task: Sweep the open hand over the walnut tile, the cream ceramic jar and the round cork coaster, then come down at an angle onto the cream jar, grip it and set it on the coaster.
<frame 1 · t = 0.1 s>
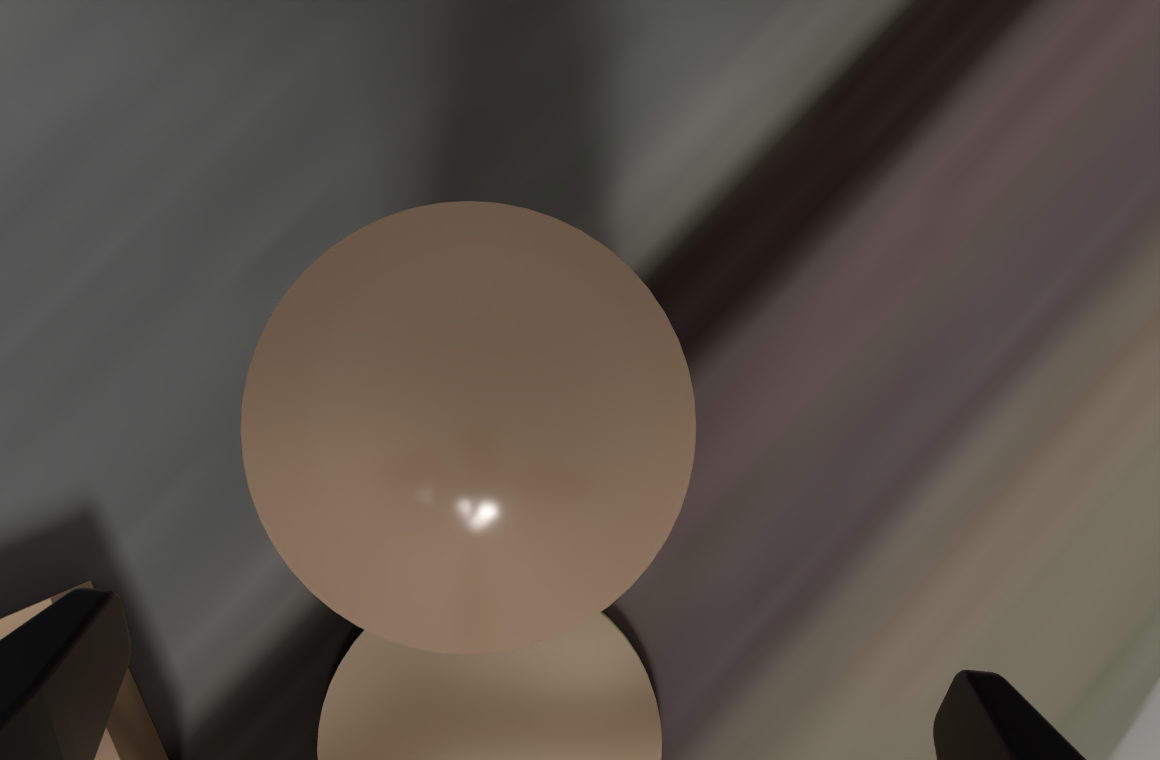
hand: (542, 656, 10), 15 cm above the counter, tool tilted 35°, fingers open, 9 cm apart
coaster: (491, 739, 25), on the counter
tile: (29, 730, 24), on the counter
jar: (511, 401, 25), on the counter
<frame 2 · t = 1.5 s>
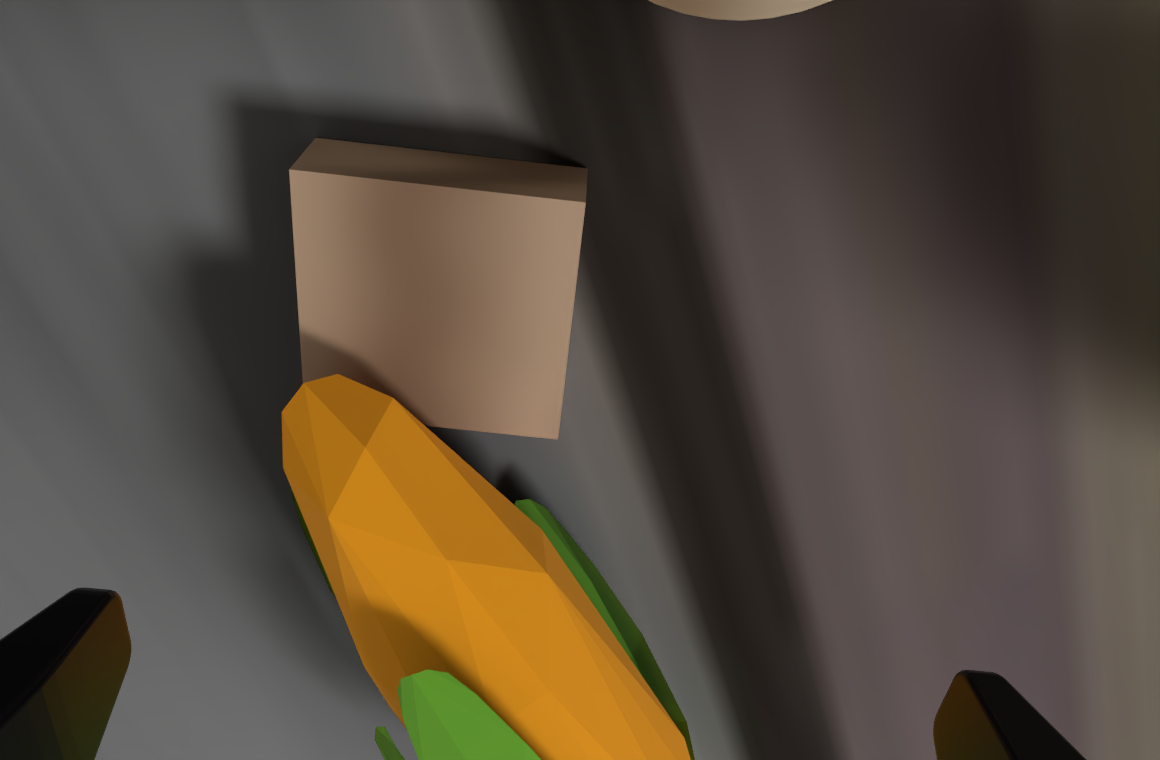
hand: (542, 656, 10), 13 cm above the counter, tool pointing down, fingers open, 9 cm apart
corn: (505, 580, 28), on the counter, touching tile
tile: (448, 275, 22), on the counter
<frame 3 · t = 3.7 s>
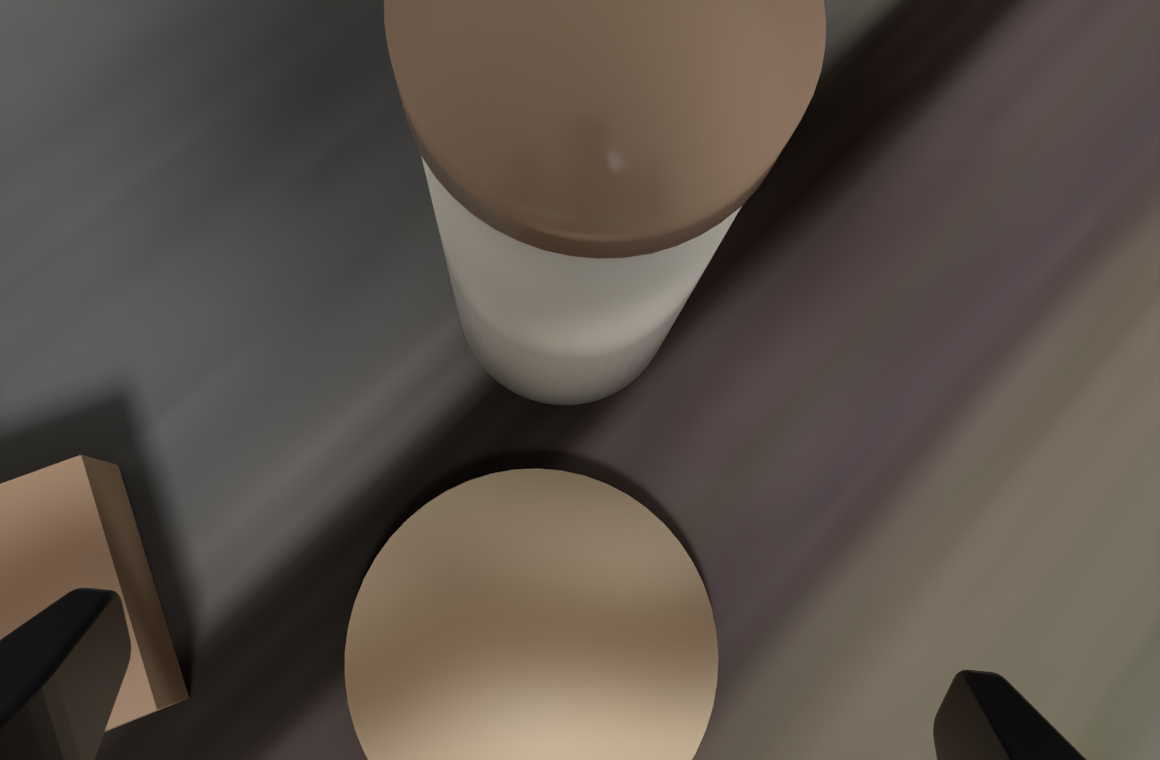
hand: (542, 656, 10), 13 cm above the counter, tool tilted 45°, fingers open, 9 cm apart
coaster: (533, 653, 23), on the counter
tile: (29, 625, 22), on the counter
jar: (564, 302, 25), on the counter
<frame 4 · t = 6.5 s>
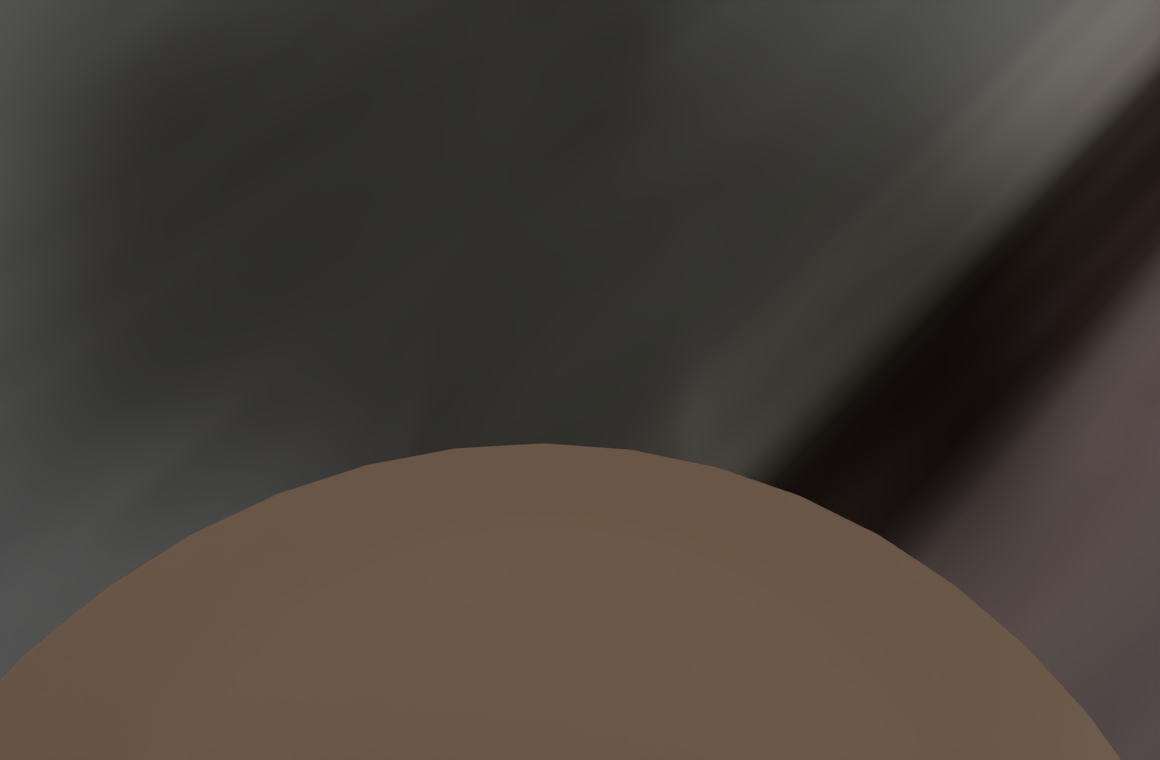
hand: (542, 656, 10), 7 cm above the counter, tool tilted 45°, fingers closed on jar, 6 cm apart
jar: (525, 710, 16), on the counter, touching gripper
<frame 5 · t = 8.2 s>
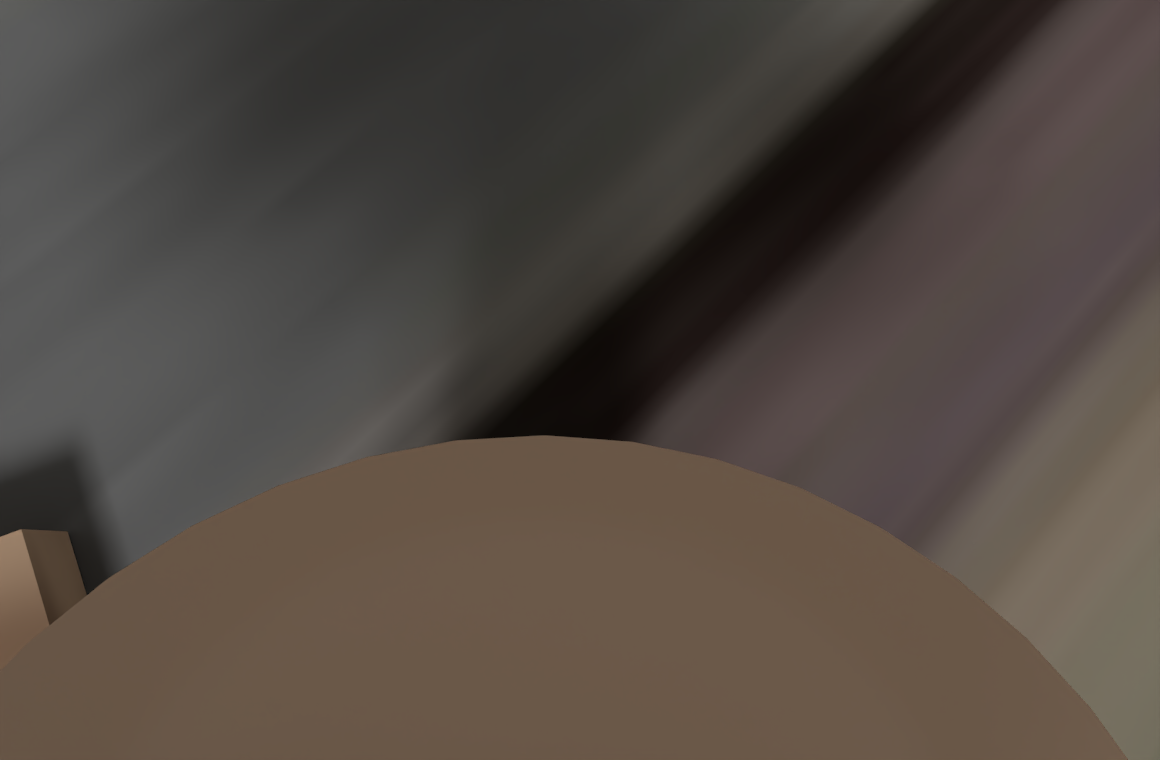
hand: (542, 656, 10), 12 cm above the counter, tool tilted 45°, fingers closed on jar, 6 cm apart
jar: (526, 708, 16), point 5 cm above the counter, touching gripper
when the fingers open (8 cm above the counter, at t = 9.8 s): jar drops 1 cm, resting on coaster.
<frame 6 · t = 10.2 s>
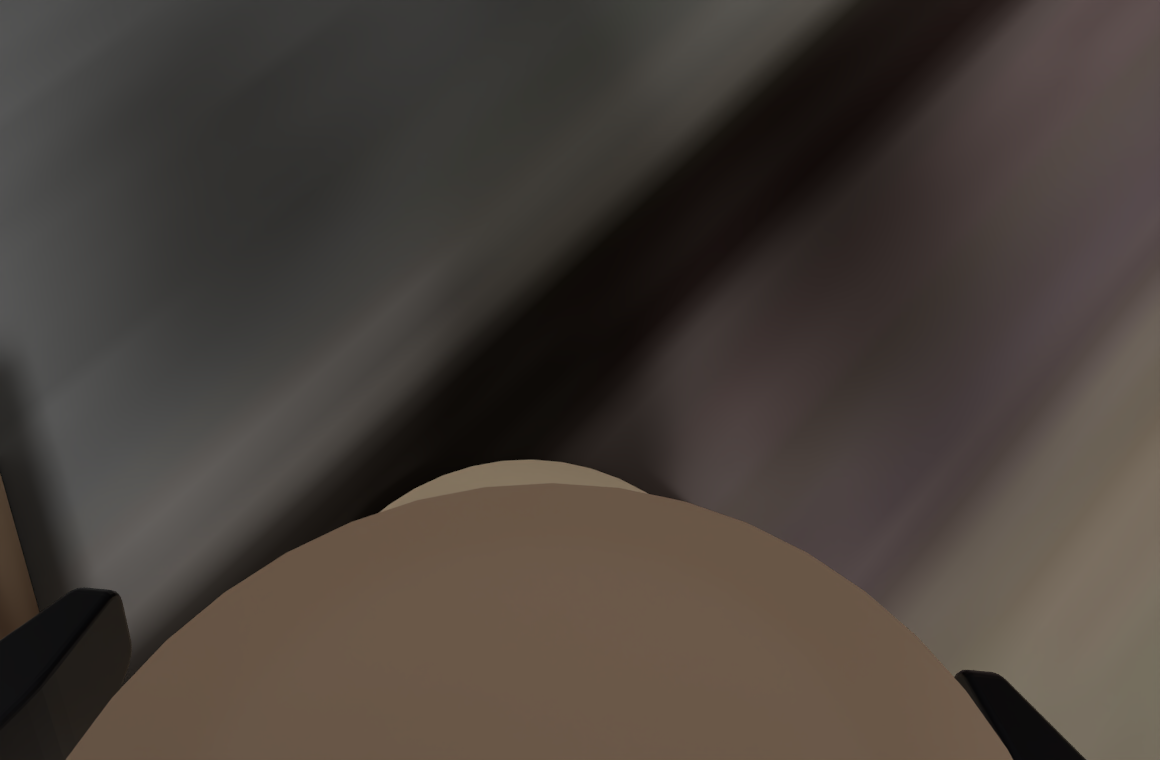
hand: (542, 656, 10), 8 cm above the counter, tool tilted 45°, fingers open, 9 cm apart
coaster: (526, 696, 18), on the counter
jar: (527, 709, 17), point 1 cm above the counter, touching coaster
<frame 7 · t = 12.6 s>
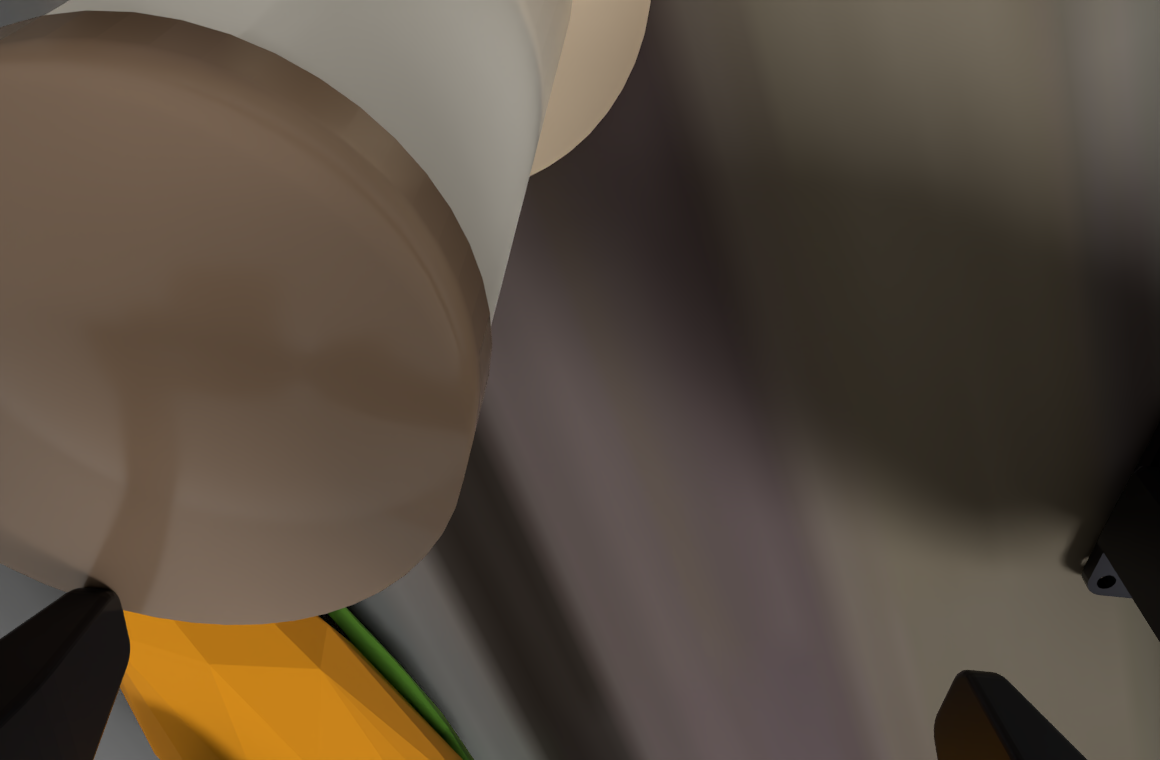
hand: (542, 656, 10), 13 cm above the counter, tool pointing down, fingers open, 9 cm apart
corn: (329, 658, 30), on the counter, touching tile
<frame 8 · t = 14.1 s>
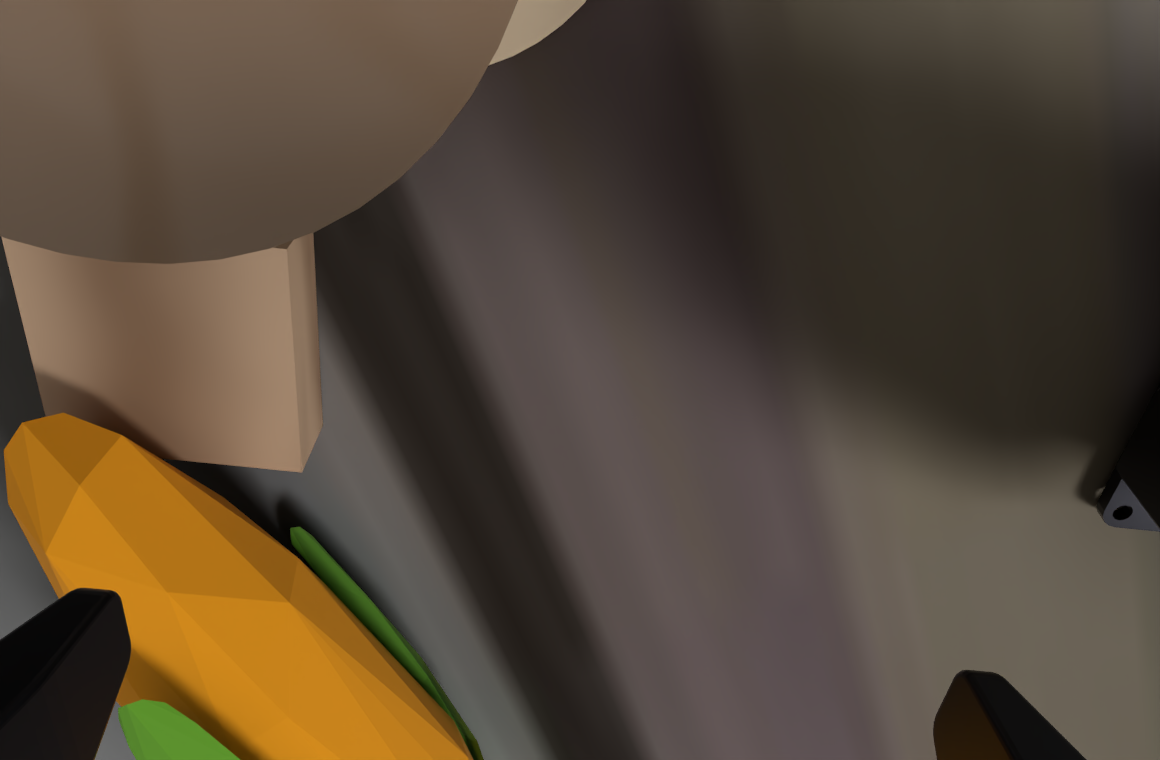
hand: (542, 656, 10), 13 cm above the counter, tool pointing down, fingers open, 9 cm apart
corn: (301, 603, 28), on the counter, touching tile
tile: (194, 313, 23), on the counter
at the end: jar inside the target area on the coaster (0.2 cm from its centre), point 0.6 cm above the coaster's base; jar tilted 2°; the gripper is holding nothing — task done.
